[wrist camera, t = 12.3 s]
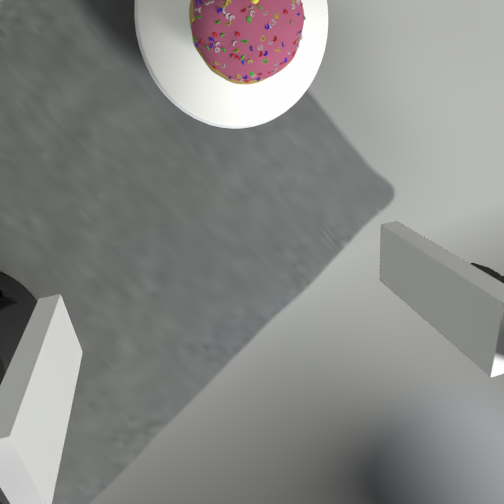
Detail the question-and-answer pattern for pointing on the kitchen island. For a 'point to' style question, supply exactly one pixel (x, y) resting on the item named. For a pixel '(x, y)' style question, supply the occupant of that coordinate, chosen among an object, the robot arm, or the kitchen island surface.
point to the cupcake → (246, 36)
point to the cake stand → (210, 84)
